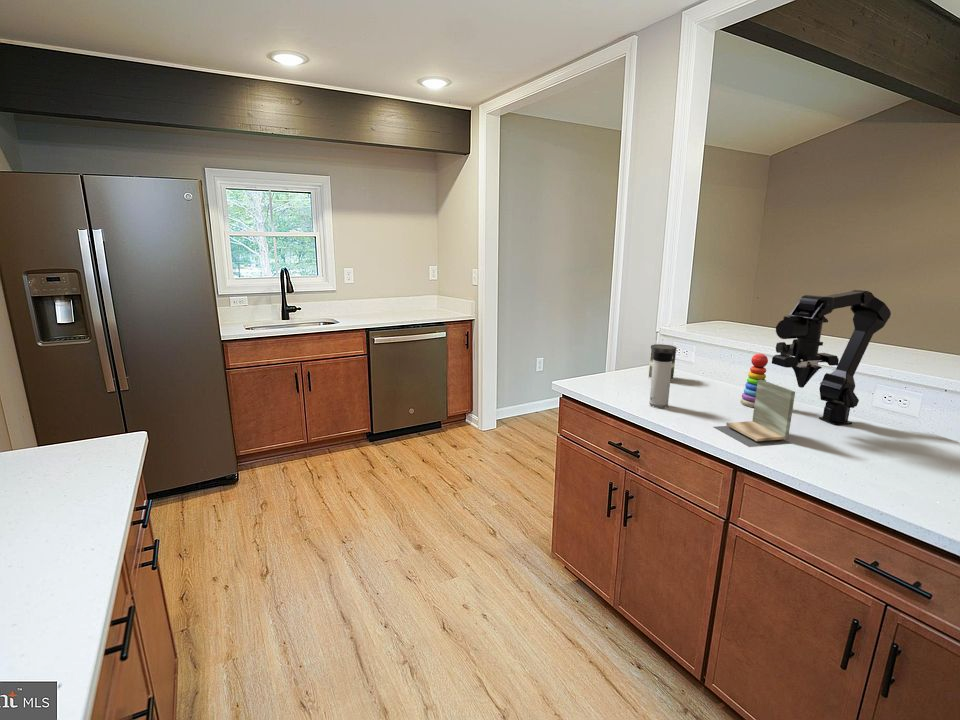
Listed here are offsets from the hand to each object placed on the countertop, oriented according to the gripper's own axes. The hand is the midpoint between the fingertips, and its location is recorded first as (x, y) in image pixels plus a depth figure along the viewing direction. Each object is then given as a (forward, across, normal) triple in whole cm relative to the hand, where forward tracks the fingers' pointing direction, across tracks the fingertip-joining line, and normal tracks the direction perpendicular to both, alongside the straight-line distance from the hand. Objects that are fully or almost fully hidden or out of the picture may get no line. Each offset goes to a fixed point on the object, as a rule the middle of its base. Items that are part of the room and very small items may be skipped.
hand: (800, 387), depth 150 cm
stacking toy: (+13, -3, -22) cm, 26 cm away
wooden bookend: (+13, +18, +4) cm, 22 cm away
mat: (+13, +19, +4) cm, 23 cm away
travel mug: (+13, +31, -27) cm, 43 cm away
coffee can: (+13, +10, -61) cm, 63 cm away
